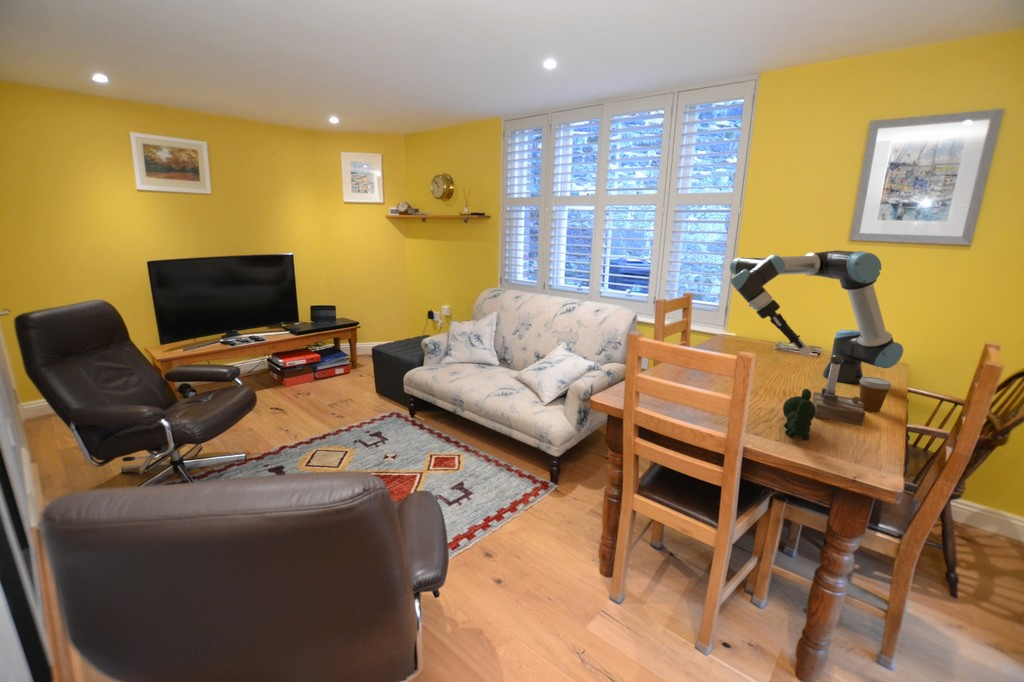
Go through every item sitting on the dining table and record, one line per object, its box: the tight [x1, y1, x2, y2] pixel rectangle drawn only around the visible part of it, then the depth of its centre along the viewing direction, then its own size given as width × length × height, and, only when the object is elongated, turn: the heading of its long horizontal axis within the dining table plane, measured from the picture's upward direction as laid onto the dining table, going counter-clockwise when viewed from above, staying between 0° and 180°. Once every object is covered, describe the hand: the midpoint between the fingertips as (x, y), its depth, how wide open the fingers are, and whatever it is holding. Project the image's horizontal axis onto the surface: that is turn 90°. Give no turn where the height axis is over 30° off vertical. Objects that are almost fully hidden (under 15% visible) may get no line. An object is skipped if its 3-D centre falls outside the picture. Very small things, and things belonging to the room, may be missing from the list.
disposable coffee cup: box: [859, 376, 892, 414], centre depth 171 cm, size 10×10×12 cm
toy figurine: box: [782, 388, 816, 442], centre depth 149 cm, size 9×19×25 cm
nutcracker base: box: [811, 387, 866, 427], centre depth 166 cm, size 16×14×8 cm
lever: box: [825, 355, 843, 395], centre depth 165 cm, size 4×4×17 cm
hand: (807, 353), depth 168 cm, fingers closed
